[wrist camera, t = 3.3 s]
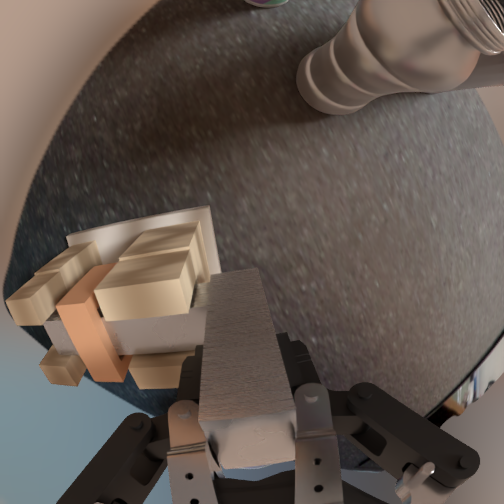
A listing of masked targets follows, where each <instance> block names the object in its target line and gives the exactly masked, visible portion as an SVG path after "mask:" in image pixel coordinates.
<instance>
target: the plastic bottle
mask: <svg viewBox="0 0 504 504" xmlns="http://www.w3.org/2000/svg"><path fill="white" fill-rule="evenodd" d="M502 51H504V0H359V1H358V3H357V5H356V6H355V8H354V10H353V11H352V13H351V15H350V17H349V18H348V20H347V22H346V23H345V25H344V26H343V27H342V28H341V29H340V30H339V32H338V33H337V34H336V35H335V36H334V38H332V39H331V40H330V41H328V42H327V43H325V44H324V45H323V46H320V47H318V48H316V49H314V50H313V51H311V52H310V53H308V54H307V55H305V57H304V58H303V59H302V60H301V62H300V64H299V66H298V70H297V75H296V83H297V88H298V90H299V92H300V95H301V96H302V97H303V99H304V100H305V101H306V102H307V103H308V104H309V105H310V106H312V107H313V108H314V109H316V110H318V111H320V112H323V113H326V114H333V115H347V114H351V113H354V112H356V111H358V110H359V109H361V108H362V107H364V106H365V105H366V104H368V103H369V102H370V101H372V100H374V99H376V98H378V97H380V96H383V95H388V94H393V93H399V92H437V91H448V90H451V89H453V88H455V87H457V86H458V85H460V84H461V83H463V82H464V81H465V80H466V79H467V78H468V77H469V76H470V74H471V73H472V71H473V69H474V68H475V66H476V64H477V61H478V59H479V56H480V53H483V54H485V55H496V54H500V53H501V52H502Z"/></svg>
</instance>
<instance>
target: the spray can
mask: <svg viewBox="0 0 504 504" xmlns="http://www.w3.org/2000/svg"><path fill="white" fill-rule="evenodd" d="M244 1H246V2H247V3H249V4H252V5H254V6H258V7H264V8H271V7H277V6H281V5H283V4H285V3H286V2H288V0H244Z"/></svg>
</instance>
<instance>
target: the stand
mask: <svg viewBox="0 0 504 504" xmlns="http://www.w3.org/2000/svg"><path fill="white" fill-rule="evenodd" d="M66 238H67V241H68V245H69V248H68V249H66V250H65V251H64V252H62V253H61V254H59V255H58V256H57V257H55V258H54V259H53V260H51V261H50V262H49V263H47V264H46V265H45V266H43V267H42V268H41V269H39V270H38V271H37V272H36V273H34V274H35V276H34V277H33V278H32V279H30V280H29V281H28V282H27V283H26V284H24V285H23V286H22V287H21V288H20V289H18V290H17V291H16V292H15V293H14V294H13V295H11V296H10V297H9V298H8V299H7V300H6V303H7V306H8V308H9V310H10V312H11V314H12V317H13V319H14V321H15V323H16V325H17V326H25V325H42V324H43V323H44V322H45V321H46V320H47V319H48V317H49V316H50V315H51V314H52V313H53V312H54V311H55V309H56V305H57V304H58V303H59V302H60V300H61V299H62V298H63V297H64V296H65V295H66V294H67V293H68V292H69V291H70V290H71V289H72V288H73V287H74V286H75V285H76V284H77V283H78V282H79V281H80V280H81V279H82V278H83V277H84V276H85V275H86V274H87V273H88V272H89V271H90V270H91V269H92V268H93V267H94V266H99V265H105V264H110V263H116V262H118V263H117V264H116V265H115V266H114V267H113V269H112V270H111V271H110V272H109V273H108V274H107V275H106V276H105V278H104V279H103V280H102V281H101V282H100V283H99V285H98V286H97V287H96V288H95V289H94V293H95V295H96V298H97V301H98V303H99V306H100V308H101V311H102V313H103V315H104V318H105V320H106V321H118V320H130V319H140V318H150V317H160V316H169V315H177V314H186V313H189V309H190V304H191V299H192V294H193V290H194V285H195V284H200V283H207V282H210V276H211V275H212V274H219V273H222V272H221V266H220V261H219V256H218V250H217V245H216V239H215V234H214V228H213V222H212V216H211V210H210V205H207V206H201V207H195V208H189V209H183V210H178V211H172V212H167V213H162V214H157V215H152V216H147V217H142V218H137V219H132V220H127V221H123V222H118V223H113V224H109V225H104V226H100V227H96V228H91V229H87V230H83V231H79V232H75V233H71V234H70V235H68V236H66ZM187 356H195V350H189V351H178V352H166V353H152V354H134V355H133V357H132V359H131V362H130V364H129V367H128V369H129V371H130V373H131V374H132V376H133V378H134V380H135V382H136V384H137V385H138V387H139V389H163V388H178V386H179V380H180V373H181V367H182V363H183V362H184V360H185V359H186V357H187ZM39 366H40V368H41V369H42V371H43V372H44V374H45V375H46V377H47V378H48V380H49V381H50V383H51V384H58V385H67V386H68V385H69V386H78V384H79V382H80V380H81V378H82V376H83V374H84V372H85V370H86V368H87V367H86V366H85V364H84V362H83V360H82V359H81V357H80V355H59V354H58V352H57V350H56V348H55V346H54V345H52V347H51V348H50V349H49V351H48V352H47V354H46V355H45V357H44V358H43V359H42V361H41V362H40V364H39Z"/></svg>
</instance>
